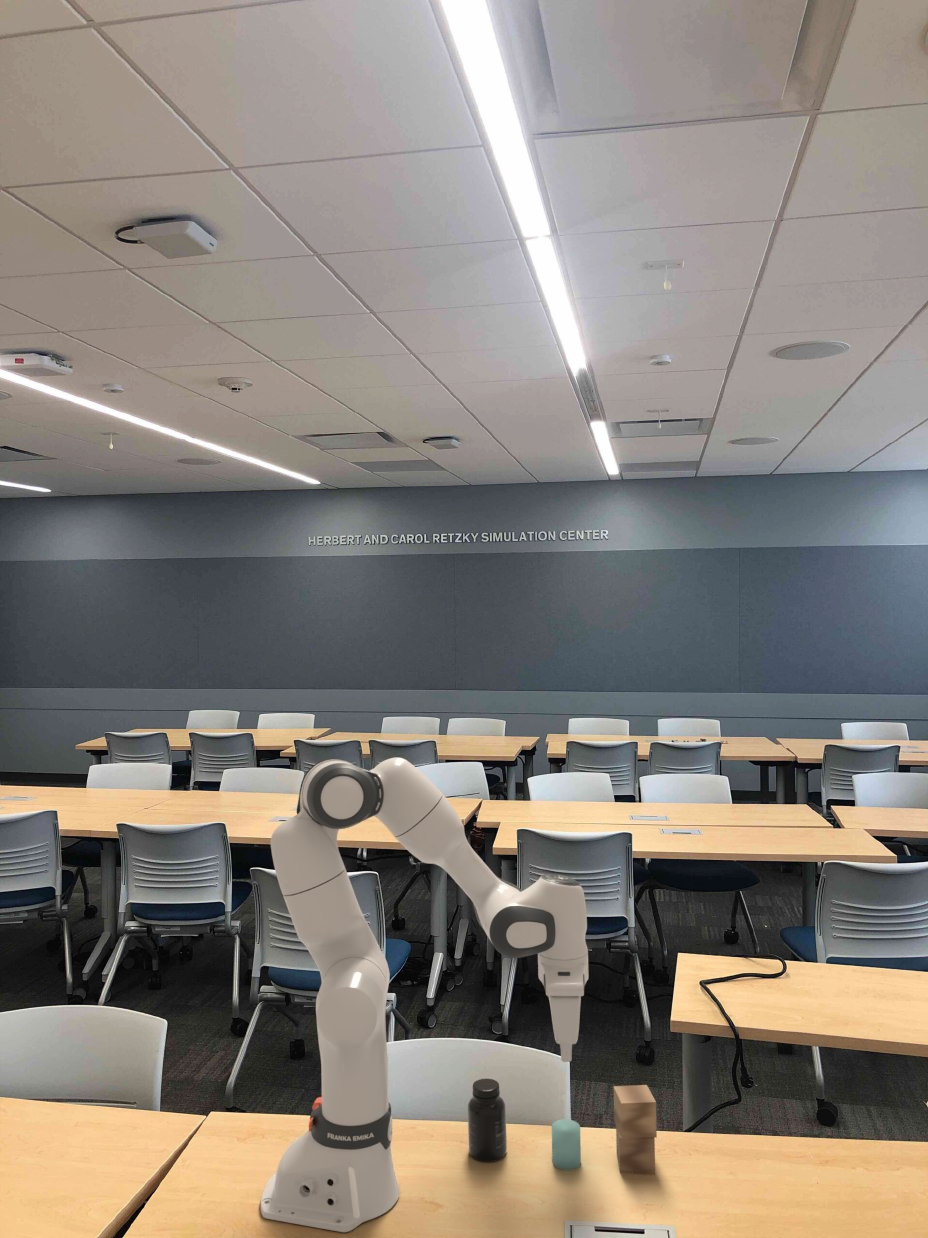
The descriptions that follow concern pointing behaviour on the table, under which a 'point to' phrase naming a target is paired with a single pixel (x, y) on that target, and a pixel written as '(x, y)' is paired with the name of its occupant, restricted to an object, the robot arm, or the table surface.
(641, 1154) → the tower base
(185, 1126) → the table surface
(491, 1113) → the supplement bottle
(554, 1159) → the teal rounded cylinder
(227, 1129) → the table surface
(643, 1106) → the tower top
